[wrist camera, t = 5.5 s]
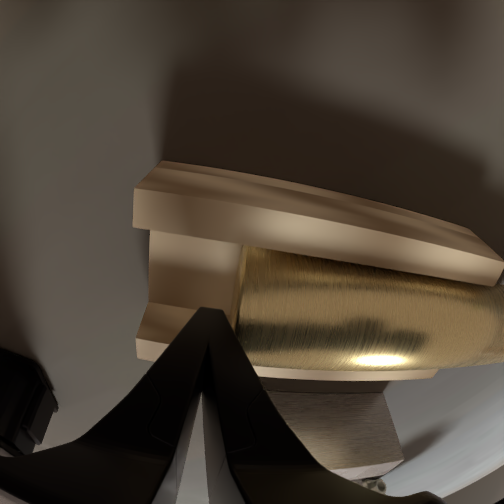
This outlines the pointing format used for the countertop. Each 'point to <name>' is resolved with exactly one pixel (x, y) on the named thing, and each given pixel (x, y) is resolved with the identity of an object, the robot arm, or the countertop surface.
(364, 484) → the pneumatic valve
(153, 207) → the beam
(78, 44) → the countertop surface
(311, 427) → the cradle
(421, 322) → the axle
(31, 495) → the robot arm
